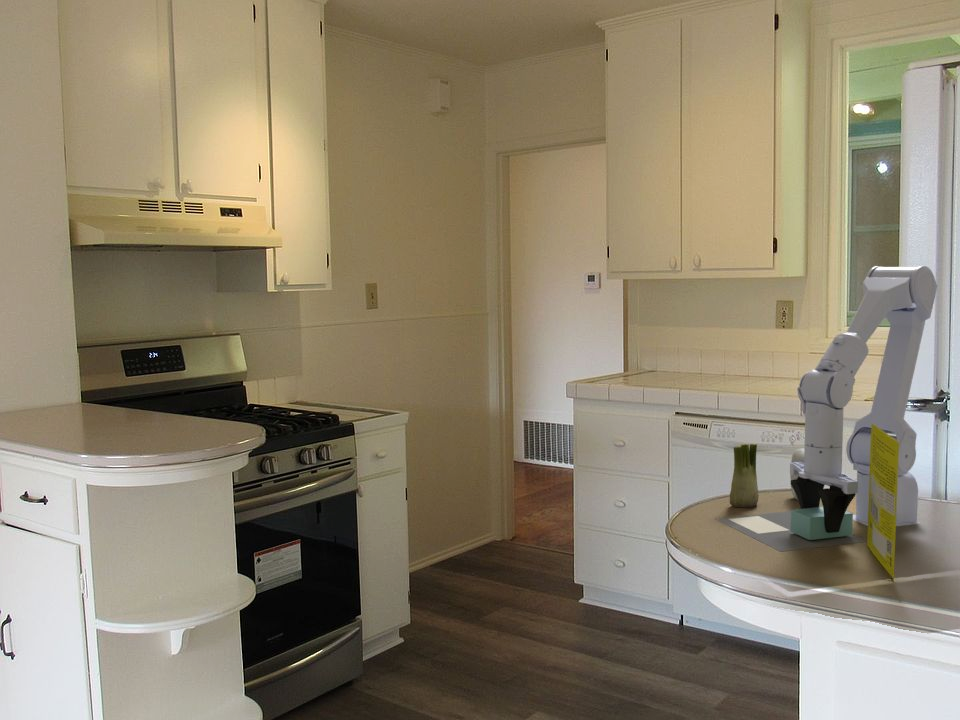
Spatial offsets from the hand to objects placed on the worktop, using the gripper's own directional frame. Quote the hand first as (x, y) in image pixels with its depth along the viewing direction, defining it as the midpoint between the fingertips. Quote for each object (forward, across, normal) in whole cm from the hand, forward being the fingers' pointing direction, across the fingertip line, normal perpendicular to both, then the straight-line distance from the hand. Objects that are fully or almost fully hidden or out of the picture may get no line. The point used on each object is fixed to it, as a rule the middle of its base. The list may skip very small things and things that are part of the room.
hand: (821, 527), depth 149 cm
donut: (+2, -22, +12) cm, 25 cm away
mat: (+2, -4, -3) cm, 6 cm away
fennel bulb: (+2, -20, -1) cm, 21 cm away
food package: (+2, +14, 0) cm, 14 cm away
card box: (+1, 0, 0) cm, 1 cm away
